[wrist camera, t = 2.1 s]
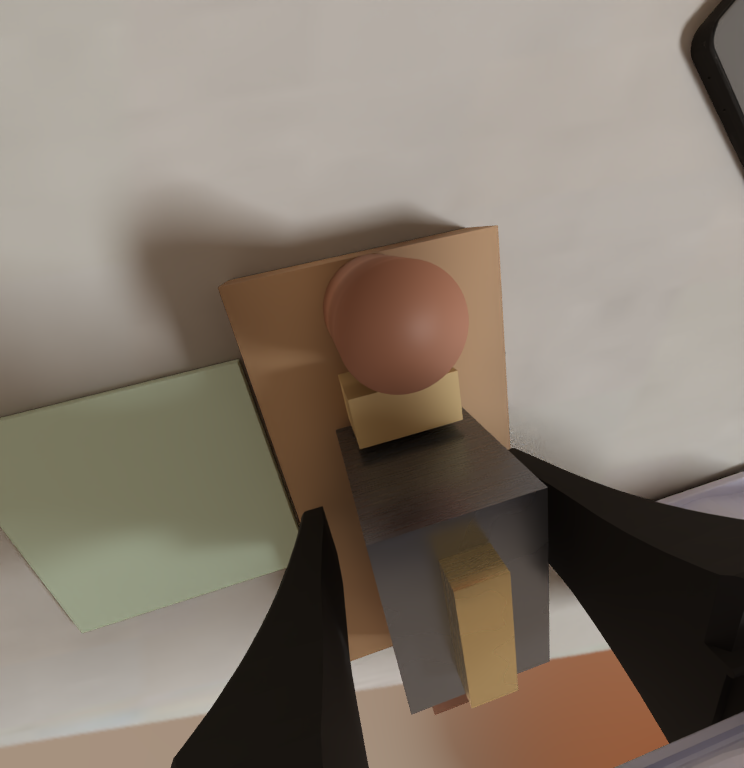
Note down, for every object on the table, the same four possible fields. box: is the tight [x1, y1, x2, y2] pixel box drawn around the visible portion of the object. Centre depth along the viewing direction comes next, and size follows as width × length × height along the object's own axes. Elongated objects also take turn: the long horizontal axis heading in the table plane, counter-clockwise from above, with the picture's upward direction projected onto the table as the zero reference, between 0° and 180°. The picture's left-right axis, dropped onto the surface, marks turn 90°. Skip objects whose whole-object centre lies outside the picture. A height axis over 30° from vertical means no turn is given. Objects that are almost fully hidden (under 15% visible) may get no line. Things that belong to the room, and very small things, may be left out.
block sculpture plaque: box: [218, 225, 510, 715], centre depth 13 cm, size 8×16×5 cm, turn 11°
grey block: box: [336, 407, 550, 714], centre depth 11 cm, size 4×6×6 cm, turn 11°
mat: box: [0, 359, 299, 633], centre depth 14 cm, size 9×9×1 cm
